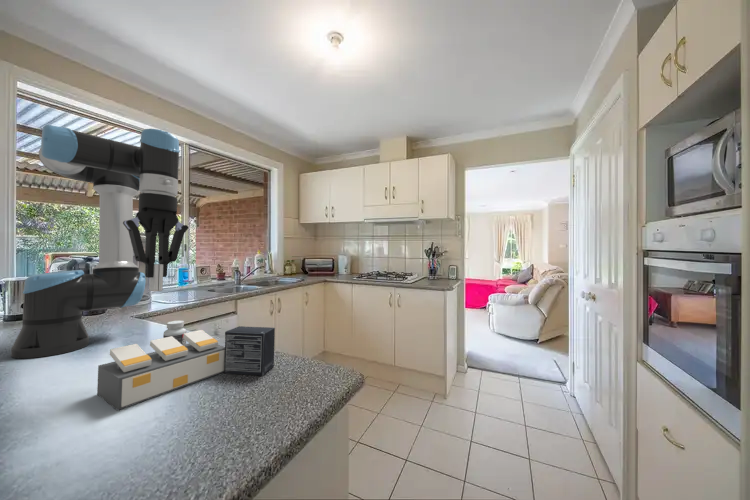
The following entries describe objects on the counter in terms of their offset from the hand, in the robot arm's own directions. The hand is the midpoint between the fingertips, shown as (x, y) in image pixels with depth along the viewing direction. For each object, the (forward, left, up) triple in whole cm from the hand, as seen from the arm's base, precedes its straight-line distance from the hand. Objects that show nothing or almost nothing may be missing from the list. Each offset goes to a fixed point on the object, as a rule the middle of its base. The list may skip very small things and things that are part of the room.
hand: (155, 290), depth 68 cm
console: (+7, 0, -20) cm, 22 cm away
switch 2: (+7, 0, -13) cm, 15 cm away
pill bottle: (-9, +9, -21) cm, 24 cm away
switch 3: (+7, +7, -13) cm, 16 cm away
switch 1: (+7, -7, -13) cm, 16 cm away
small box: (+17, +15, -21) cm, 30 cm away
